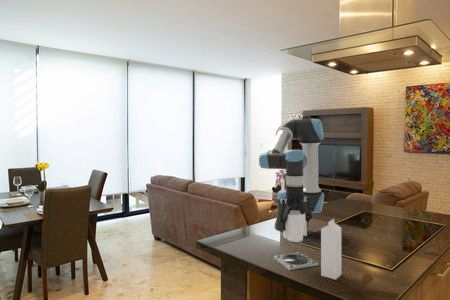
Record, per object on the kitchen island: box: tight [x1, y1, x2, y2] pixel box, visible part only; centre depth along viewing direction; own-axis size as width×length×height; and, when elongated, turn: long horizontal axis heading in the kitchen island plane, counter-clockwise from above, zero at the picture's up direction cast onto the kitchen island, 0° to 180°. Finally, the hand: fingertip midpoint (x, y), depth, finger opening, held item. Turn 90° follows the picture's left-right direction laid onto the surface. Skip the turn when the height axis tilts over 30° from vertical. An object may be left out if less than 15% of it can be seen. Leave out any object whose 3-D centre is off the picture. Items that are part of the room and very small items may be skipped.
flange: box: [273, 251, 319, 271], centre depth 142 cm, size 14×14×2 cm
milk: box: [320, 218, 342, 281], centre depth 127 cm, size 6×6×22 cm
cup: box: [286, 210, 306, 243], centre depth 141 cm, size 9×9×12 cm
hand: (294, 236), depth 141 cm, fingers closed on cup, 9 cm apart
